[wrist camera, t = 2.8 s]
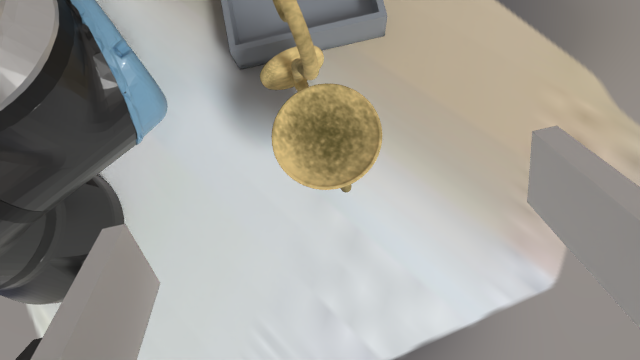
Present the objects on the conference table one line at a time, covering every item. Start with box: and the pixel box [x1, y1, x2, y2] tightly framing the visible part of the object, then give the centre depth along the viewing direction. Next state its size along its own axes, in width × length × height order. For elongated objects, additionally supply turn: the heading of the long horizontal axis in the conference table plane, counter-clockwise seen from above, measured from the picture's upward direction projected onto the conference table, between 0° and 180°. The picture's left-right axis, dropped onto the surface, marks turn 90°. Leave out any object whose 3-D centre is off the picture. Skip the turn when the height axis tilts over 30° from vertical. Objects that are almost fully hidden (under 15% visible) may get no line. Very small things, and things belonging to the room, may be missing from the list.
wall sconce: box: [260, 0, 382, 192], centre depth 35 cm, size 14×10×25 cm
